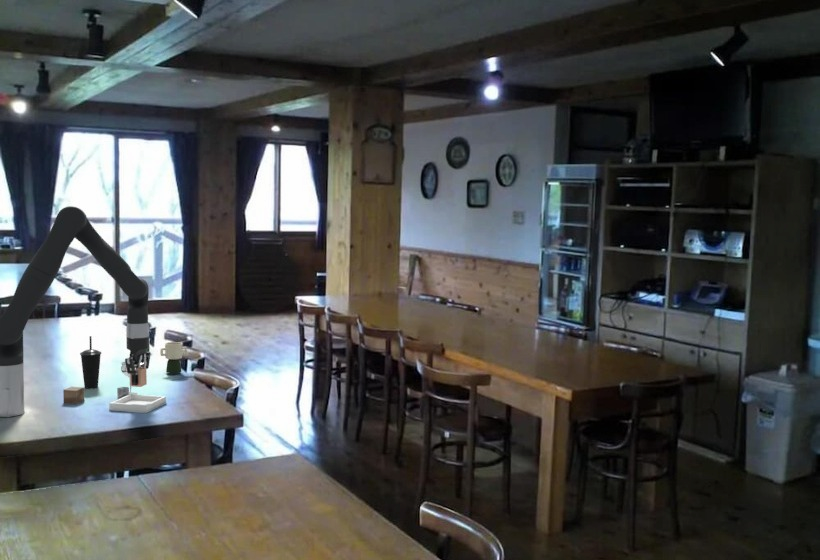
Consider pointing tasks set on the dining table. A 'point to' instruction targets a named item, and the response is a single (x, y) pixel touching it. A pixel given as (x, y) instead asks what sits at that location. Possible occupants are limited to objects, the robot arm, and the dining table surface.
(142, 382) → the terracotta block
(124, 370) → the wineglass
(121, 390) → the grey cube
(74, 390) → the walnut cube
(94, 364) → the drinking cup
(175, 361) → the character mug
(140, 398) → the tray
